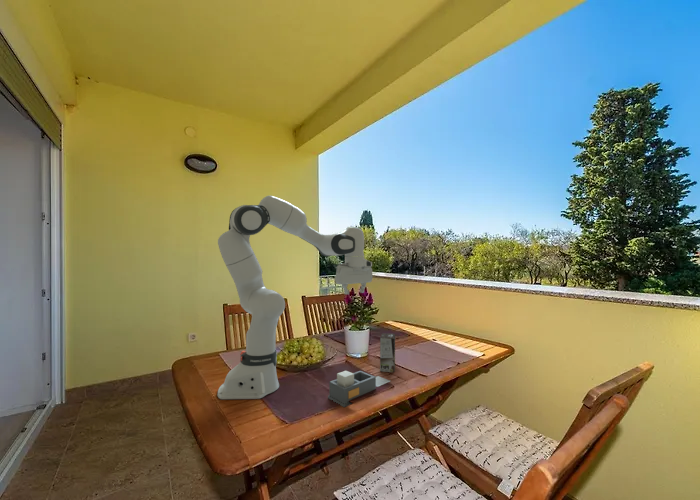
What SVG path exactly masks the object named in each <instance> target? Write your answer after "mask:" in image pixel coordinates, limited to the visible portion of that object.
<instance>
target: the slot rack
mask: <svg viewBox="0 0 700 500" xmlns="http://www.w3.org/2000/svg"><path fill="white" fill-rule="evenodd" d="M352 373H353V374H354V384H352V385H350V386H347V387H343V386H341V385H339V384H337V378H336V379H334V380H333V379H332V380H331V381H329V389H328V390H329V392H328V393H329V395H327V398H328V400H330V401H332V400H333V403H335V402H336V404H337V403H338V404H337V405H339V404H340V406H341V407H343V408H346V407H348V406H351V405H353V403H352V402H351V400H354V399H356V398H358V397H360V396H363V395H365V394H368V393H370V392H372V391H374V390H376V389H377V388H379V387H381V386H383V385H385V384H387V383H389V382H390V383H391V380H390V379H387V378H384V377H382V376H379V375H377V376H375V375H372V374H370V373H368V372H365V371H362V370H359V371H355V372H352Z"/></svg>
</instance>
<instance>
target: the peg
mask: <svg viewBox="0 0 700 500" xmlns="http://www.w3.org/2000/svg"><path fill="white" fill-rule="evenodd" d="M353 373H354V372H350V371H348V370H344V371H341V372H338V373H336V379H337V384H339V385H341V386H343V387H347V386H350V385H352V384H354V374H353Z"/></svg>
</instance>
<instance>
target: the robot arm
mask: <svg viewBox="0 0 700 500" xmlns="http://www.w3.org/2000/svg"><path fill="white" fill-rule="evenodd" d="M307 222H308V221H307V215H306V213H305V212H304V211H303V210H301V209H300V208H299V207H297V206H296V205H294V204H292V203H290V202H289V201H286V200H284V199H282V198H279V197H276V196H273V195H266V196H265V197H263V198H262V199H261V200H260V202H259V203H258V204H257V205H256V204H243V205H239V206H237V207H235V208H234V209H233V210H232V211H231V213H230V216H229V224H228V230H227V231H225V232H224V233H222V234H221V235H220V236H219V237H218V239H217V245H218V249H219V252H220V255H221V258H222V259H223V263H224V264H225V266H226V269H227V270H228V272H229V274H230V276H231V278H232V281H233V282H234V285H235V287H236V291H237V296H238V298H239V304H240V306H241V308H242V310H244V311H245V312H246V313H248V314H250V315H251V320H250V324H249V328H248V329H247V331H246V335H245V336H246V337H245V338H246V339H245V340H246V341H245V342H246V343H245V347H246V348H245V350H242V351H241V352H240V353H239V354H240V362H239V363H238V364H237V365H236V366H234V367H233V368H231V370H229V372H227V374H226V376H225V379H224V382H223V383H222V384H221V385H220V386H219V388H218V390H217V397H218V399H220V400H256V399H257V400H259V399H260V400H261V399H263V398H264V397H265V396H267V395H269V394H272V393H274V392H276V391H277V390H278V389H279V388H280V383H279V380H278V379H279V378H278V375H277V368H276V367H277V363H278V360H277V359H278V358H277V356H278V353H277V350H276V340H277V339H276V337H277V336H276V335H277V334H276V333H277V326H278V322H279V319H280V316H282V314H283V313H284V311H285V308H286V302H285V298H284V296H282V295H281V294H280V293H279V292H277V291H275V290H274V289H269V288H267V287H266V286H265V284H264V280H263V268H262V266H261V264H260V261H259V260H258V258H257V256H256V253H255V252H254V250H253V248H252V246H251V241H250V237H251V236H254V235H257V234H259V233H260V232H261V231H263V229H264V228H265V227H266V226H267V225H268V224H269V225H271V226H274V227H275V228H277V229H279V230H280V231H283V232H285V233H288V234H291V235H293V236H296V237H298V238H300V239H301V240H303V241H305V242H306V243H309V244H310V245H312V246H314V248H316V250H317V251H318V252H319V253H320V254H321V255H322V256H324V257H331V256H332V257H333V256H343V255H344V262H340V263H338V265H337V266H336V273H335V280H334V281H335V283H336V284H337V285H341V286H342V289H343V291H344V292H343V294H344V295H350V290H349V289H348V286H349V285H353V284H360V285H361V286H360V288H359V292H358V293H360V294H364V293H365V289H366V286H367V283H371V282H372V281H373V268H372V267H373V261H370V260H368V259H366V258H365V253H364V249H365V236H364V231H363V230H362V229H361V228H360V227H357V226H347V227H346V229H343V230H342V231H340V232H337V233H333V234H323V233H320V232H318V231H317V230H315V229H314V228H312V227H311V226H309V225H308V223H307Z"/></svg>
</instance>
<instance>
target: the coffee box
mask: <svg viewBox="0 0 700 500" xmlns="http://www.w3.org/2000/svg"><path fill="white" fill-rule="evenodd" d="M379 341H380V342H379V344H380V346H379V348H380V349H379V356H380V357H379V371H380V372H383V373H385V372H386V373H395V370H396V334H395V333H385V332H384V333H381V335H380V339H379Z"/></svg>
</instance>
